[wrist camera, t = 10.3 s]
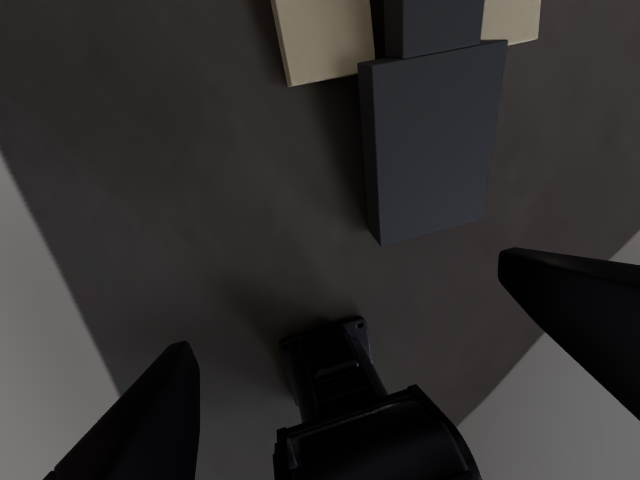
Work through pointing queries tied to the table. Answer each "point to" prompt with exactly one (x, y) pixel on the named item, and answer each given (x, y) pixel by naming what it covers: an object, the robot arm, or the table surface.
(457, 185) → the black tab pad
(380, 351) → the table surface
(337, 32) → the sand notch pad
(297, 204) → the table surface
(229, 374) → the table surface
